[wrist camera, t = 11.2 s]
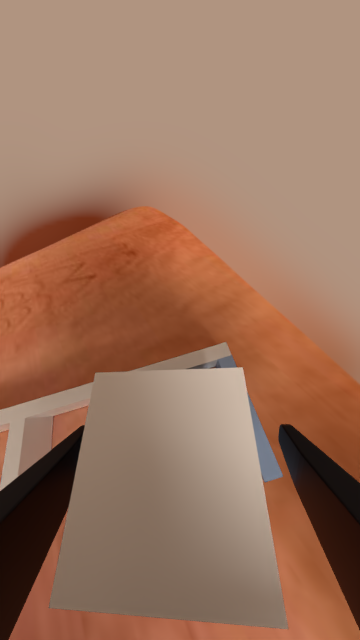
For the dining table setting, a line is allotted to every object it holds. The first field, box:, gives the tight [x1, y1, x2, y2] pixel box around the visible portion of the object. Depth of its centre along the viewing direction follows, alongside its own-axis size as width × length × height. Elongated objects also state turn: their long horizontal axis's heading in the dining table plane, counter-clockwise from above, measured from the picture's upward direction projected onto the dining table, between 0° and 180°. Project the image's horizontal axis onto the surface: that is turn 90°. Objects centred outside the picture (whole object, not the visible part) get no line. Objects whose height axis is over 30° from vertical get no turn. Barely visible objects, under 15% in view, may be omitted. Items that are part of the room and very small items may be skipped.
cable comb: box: [0, 342, 283, 491], centre depth 14 cm, size 27×9×3 cm, turn 105°
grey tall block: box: [49, 367, 288, 629], centre depth 10 cm, size 4×4×12 cm
